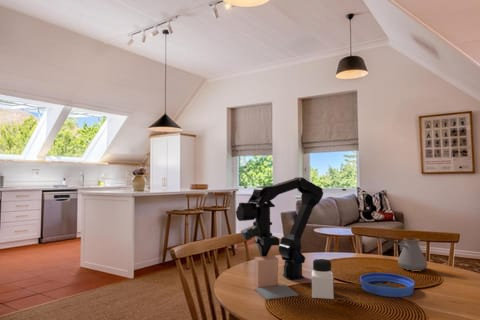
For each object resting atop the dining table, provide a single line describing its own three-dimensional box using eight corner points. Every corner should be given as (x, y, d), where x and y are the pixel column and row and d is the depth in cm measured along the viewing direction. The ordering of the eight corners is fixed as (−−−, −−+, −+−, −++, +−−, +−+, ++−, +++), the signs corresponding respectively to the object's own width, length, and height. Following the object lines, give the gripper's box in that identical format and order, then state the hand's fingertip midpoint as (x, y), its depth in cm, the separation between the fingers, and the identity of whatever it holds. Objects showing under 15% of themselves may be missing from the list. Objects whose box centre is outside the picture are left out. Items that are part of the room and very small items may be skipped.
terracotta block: (273, 280, 133) (274, 255, 133) (277, 285, 129) (278, 258, 129) (254, 283, 131) (254, 257, 130) (257, 287, 127) (258, 260, 126)
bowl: (411, 284, 130) (410, 274, 130) (418, 301, 112) (418, 290, 113) (360, 279, 135) (359, 270, 136) (360, 295, 118) (360, 284, 118)
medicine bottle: (334, 299, 114) (333, 262, 114) (312, 298, 115) (311, 261, 116) (332, 292, 121) (332, 257, 121) (311, 291, 122) (311, 256, 123)
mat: (285, 285, 128) (285, 284, 128) (298, 295, 118) (298, 294, 118) (254, 289, 124) (254, 288, 124) (266, 300, 114) (266, 298, 114)
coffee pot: (414, 264, 155) (413, 231, 156) (434, 271, 144) (433, 235, 145) (372, 268, 150) (371, 233, 151) (390, 276, 139) (389, 238, 140)
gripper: (235, 217, 140) (236, 256, 139) (250, 223, 122) (251, 268, 121) (261, 216, 143) (262, 254, 142) (279, 222, 125) (280, 265, 125)
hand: (263, 260), depth 133 cm, fingers closed
